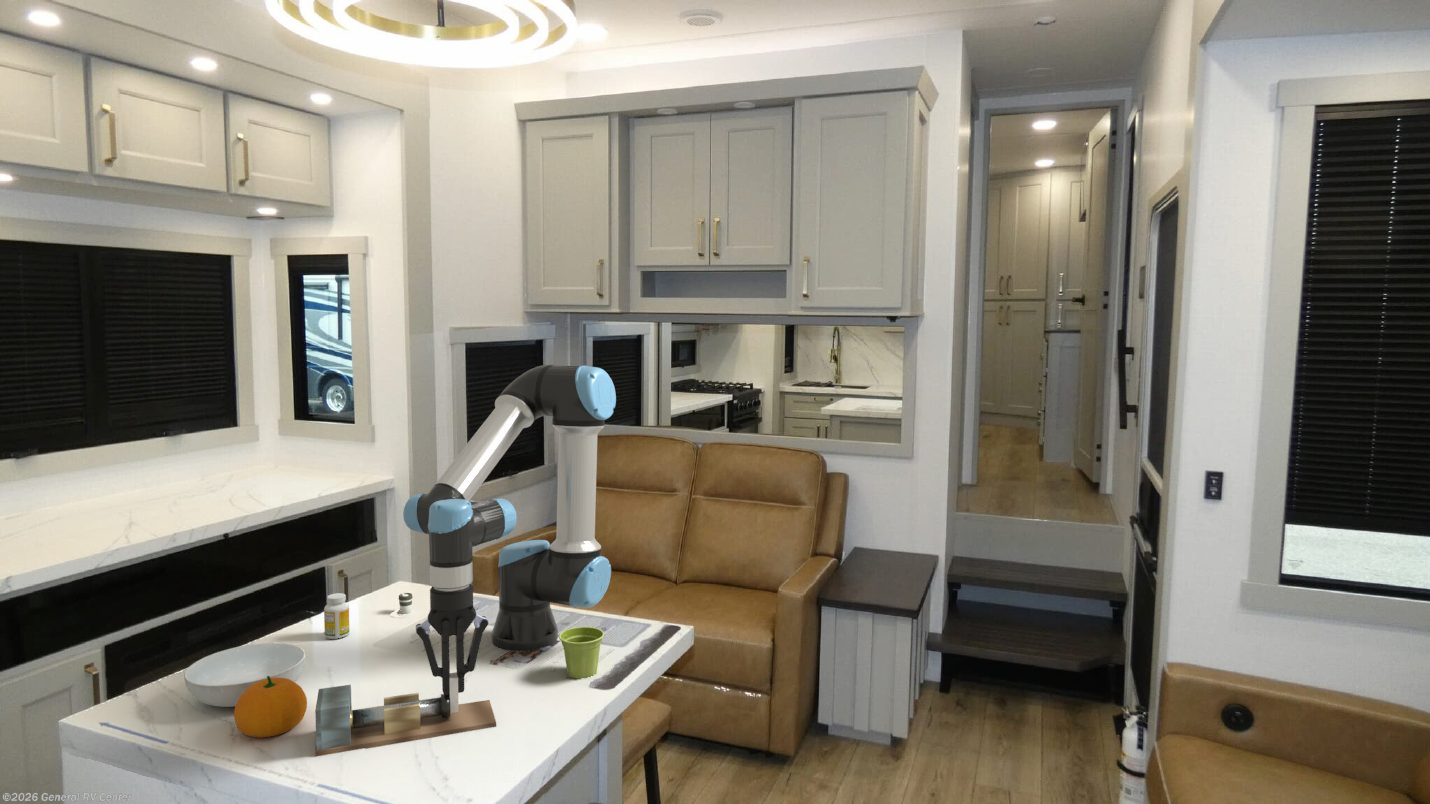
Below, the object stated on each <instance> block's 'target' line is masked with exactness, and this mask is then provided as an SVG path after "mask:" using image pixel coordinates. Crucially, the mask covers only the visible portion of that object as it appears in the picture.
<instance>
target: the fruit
mask: <svg viewBox="0 0 1430 804" xmlns="http://www.w3.org/2000/svg"><path fill="white" fill-rule="evenodd" d="M304 691H305V690H303V688H302V687H301V685H299V684H298V683H296V681H295V682H293V681H291V680H289V679H287V678H270V676H267V679H266V680H262V681H259V682H257V683H255V684H253V685H251V686H250V687H249V688H248V689H247V690H246V691H245V692H244V693H243V694H242V695H241V697H240V698H239V700H238V702H237V704H236V706H234V710H233V717H234V722H235V725H236V727H237V729H238V731H240V732H241V733H243V734H244V735H246V736H248V737H253V738H270V737H271V736H272V737H274V736H279V735H282V734H284V733H286V732H287V733H288V732H289V731H290V730H293V728H295V727H297V725H299V724H300V723H301V722H302V720H304V717H305V715H306V712H307V708H308V699H307V695H306V693H305V692H304Z"/></svg>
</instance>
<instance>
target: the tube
mask: <svg viewBox="0 0 1430 804" xmlns="http://www.w3.org/2000/svg"><path fill="white" fill-rule="evenodd" d="M414 704H420V719H422V718H428V717H435V716H441V715H442V718H447V717H450V695H449V694H447V695H444V693H441V694H440V697H439V696H438V697H432V698H426V699H419V700H418V701H411V702H405V703H398V704H391V705H384V704H383V705H378V706H371V707H365V708H358V709H352V710H350V724H351V729H357V728H364V727H370V726H377V725H383V724H384V709H387V708H393V707H400V706H407V705H414Z"/></svg>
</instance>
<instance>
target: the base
mask: <svg viewBox="0 0 1430 804" xmlns="http://www.w3.org/2000/svg"><path fill="white" fill-rule="evenodd" d="M317 692H318V693H317V696H316V697H317V698H316V704H315V712H314V713H315V714H314V715H315V716H314V717H315V736H316V737H315V741H316V743H315V750H314V755H315V758H316V757H321V756H327V755H332V754H339V753H343V752H344V753H345V752H349V751H358V750H363V749H366V750H367V749H372V748H377V747H384V746H391V745H396V744H397V745H398V744H402V743H408V742H412V741H419V740H420V741H421V740H424V739H432V738H437V737H442V736H449V735H455V734H461V733H466V732H467V733H468V732H472V731H479V730H485V729H490V728H496V727H497V721H496V718H495V714H494V710H493V707H492V703H491V700H490V699H486V700H485V699H484V700H480V701H473V702H465V703H458V705H459V712H455V713H450V717H447V718H442V715H441V716H435V717H428V718H422V719H420V704H414V705H407V706H400V707H393V708H387V709H384V724H383V725H377V726H370V727H364V728H357V729H351V724H350V710H353V707H352V684H344V685H340V686H339V685H337V686H330V687H325V688H318V691H317ZM418 700H420V693H419V692H415V693H408V694H401V695H395V696H393V695H392V696H387V697H383V706H384V705H391V704H398V703H405V702H411V701H418Z"/></svg>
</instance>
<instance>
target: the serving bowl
mask: <svg viewBox="0 0 1430 804" xmlns="http://www.w3.org/2000/svg"><path fill="white" fill-rule="evenodd" d="M305 663H306V652H305V650H304V649H303V648H302V647H301V646H298V645H295V644H292V643H286V642H285V643H284V642H263V643H253V644H246V645H239V646H236V647H231V648H228V649H224V650H221V651H217V652H215V653H212V654H209V655H207V656H204V657H202V658H201V659H199V660H197V661H195V662H193V663H192V664H190V665H189V666H188V667H187V668H186V670H185V671H184V674H183V677H184V682H185V686H186V688H187V691H188V692H189V693H190V695H191V696H192V697H193V698H194V699H196V700H197V701H198V702H200V703H203V704H205V705H208V706H212V707H213V706H214V707H222V708H227V707H228V708H230V707H232V708H233V707H235V706H236V704H237V702H238V700H239V698H240V697H241V695H242V694H243V693H244V692H245V691H246V690H247V689H248V688H249V687H250V686H251V685H253V684H255V683H257V682H259V681H262V680H266V679H267V676H270V678H287V679H289V680H291V681H293V682H295V683H296V682H297V680H298V679H299V678H300V676H301V674H302V672H303V670H304V667H305Z"/></svg>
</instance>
